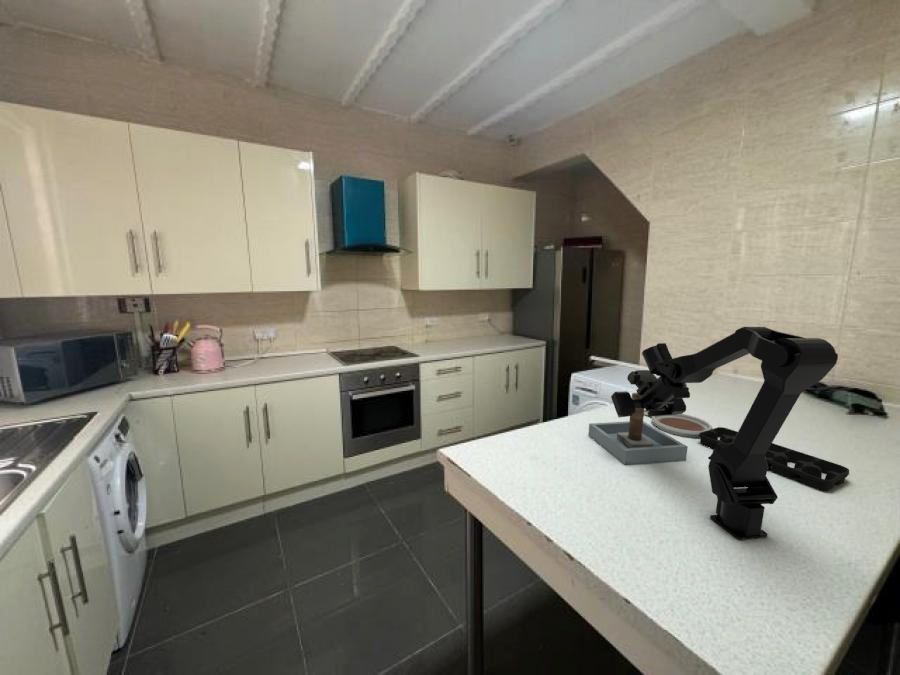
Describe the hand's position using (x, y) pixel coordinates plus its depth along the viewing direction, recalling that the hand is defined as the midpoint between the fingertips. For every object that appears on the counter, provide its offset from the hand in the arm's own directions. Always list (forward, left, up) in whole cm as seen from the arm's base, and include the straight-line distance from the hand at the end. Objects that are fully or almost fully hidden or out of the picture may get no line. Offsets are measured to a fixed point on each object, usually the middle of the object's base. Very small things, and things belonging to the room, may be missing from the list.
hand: (633, 415), depth 103 cm
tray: (-1, 0, -9) cm, 9 cm away
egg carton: (-13, -30, -10) cm, 35 cm away
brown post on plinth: (-2, 0, -8) cm, 8 cm away
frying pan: (+15, -23, -10) cm, 29 cm away
